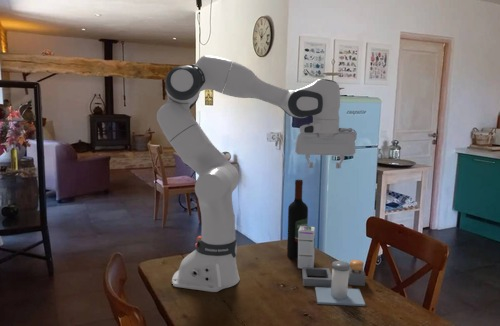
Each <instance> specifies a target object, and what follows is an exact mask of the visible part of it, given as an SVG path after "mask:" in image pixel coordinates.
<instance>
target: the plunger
mask: <svg viewBox="0 0 500 326" xmlns="http://www.w3.org/2000/svg"><path fill="white" fill-rule="evenodd" d="M349 264H350V269H352V270H354V272H359V271H360V270H364V261H362V260H360V259H359V260H358V259H351V260H350V261H349Z"/></svg>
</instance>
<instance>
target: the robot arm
mask: <svg viewBox="0 0 500 326" xmlns="http://www.w3.org/2000/svg"><path fill="white" fill-rule="evenodd" d="M164 85H165V91H166V95H167V101H166V103H165V104H163V105H161V106H160V108H158V110H157V113H156V121H157V123H158V125H159V128H160V129H161V131H162V134H163V135H164V137H165V138H166V140H167V141H168V142H169V144H170V145H171V147H172V149H173V150H175V153H176V154H177V155H178V157H179V158H180V159H181V161H182V162H183V163H184V164H185V165H187V166H188V167H190V169H192V170H193V171H194V173H196V174H197V175H198V177H197V179H196V181H195V183H194V193H195V195H196V197H197V199H198V205H199V209H200V210H199V211H200V217H201V235H198V236H197V237H196V241H195V249H194V250H193V251H192V252H191V253H188V254H187V255H186V256H185V257H184V258H183V259H182V260H181V262H180V264H179V268H178V270H176V271H175V272H174V274H173V275H172V278H171V284H173V285H172V286H173V287H175V288H183V289H187V290H188V289H190V290H198V291H204V292H209V293H218V292H219V291H221V290H224V289H228V288H231V287H233V286H236V285H237V284H238V283H239V282H240V276H239V270H238V266H237V258H236V256H237V253H238V252H237V250H238V247H237V244H238V243H237V238H236V215H235V212H234V205H233V192H234V191H235V190H236V189H237V187H238V185H239V180H240V174H239V171H238V169H237V168H236V167H235V166H234V165H233V164H232V163H231V162H230V161H229V160H228V159H227V158H226V157H225V155H224V154H222V152H221V151H220V150H219V149H218V148H217V147H216V146H215V145H214V144H213V142H212V141H211V140H210V139H209V137H208V136H207V135H206V133H205V132H204V130H203V128H202V127H201V126H200V125H199V123H198V122H197V120H196V119H195V117H194V116H193V114H192V112H191V109H192V108H193V106H194V105H195V104H196V103H197V101H198V100H199V98H200V93H201V92H202V91H205V90H206V91H207V90H211V91H215V92H216V93H219V94H223V95H226V96H229V97H234V98H241V99H254V100H255V99H256V100H259V101H262V102H266V103H269V104H272V105H275V106H276V107H279V108H280V109H281V110H282V111H284V113H285V114H287V115H288V116H290V117H292V118H298V119H304V118H308V117H312V122H310V123H307V124H303V125H301V126H300V127H299V132H300V133H298V134H297V138H296V143H295V153H296V154H297V155H301V156H302V155H305V159H306V161H307V163H308V169H309V168H311V169H313V167H314V163H313V162H312V161H311V160H310V157H311V155H313V156H339V161H338V162H335V169H341V168H342V163H343V161H344V160H345V156H354V155H355V154H356V142H355V141H356V140H357V131H356V130H355V129H353V128H352V127H347V128H346V127H340V115H339V110H340V107H341V91H340V85H339V84H338V82H336V81H335V80H331V79H327V78H317V79H316V80H315V81H314V82H311V83H310V84H308V85H306V86H303V87H301V88H296V89H295V88H294V89H284V88H281V87H278V86H276V85H273V84H271V83H267V82H265V81H264V80H262V79H260V78H259V77H258V76H257V75H256V74H255V72H253V70H252V69H249V68H248V67H246V66H244V65H242V64H241V63H238V62H236V61H233V60H231V59H227V58H223V57H219V56H216V55H215V56H213V55H203V56H200V58H199V59H198V60H197V62H196V63H195V64H193V63H191V64H188V65H179V66H175V67H173V68H171V70H169V71H168V73H167V74H166V76H165V81H164Z"/></svg>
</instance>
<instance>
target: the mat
mask: <svg viewBox="0 0 500 326" xmlns="http://www.w3.org/2000/svg"><path fill="white" fill-rule="evenodd" d="M314 290H315V297H316V302H317V304H318V305H332V306H333V305H334V306H353V307H354V306H356V307H366V302H365V300H364V298H363V294H362V293H361V289H360V288H348V291H347V297H346V298H345V299H337V298H334V297H332V296H331V287H317V286H314Z"/></svg>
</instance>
